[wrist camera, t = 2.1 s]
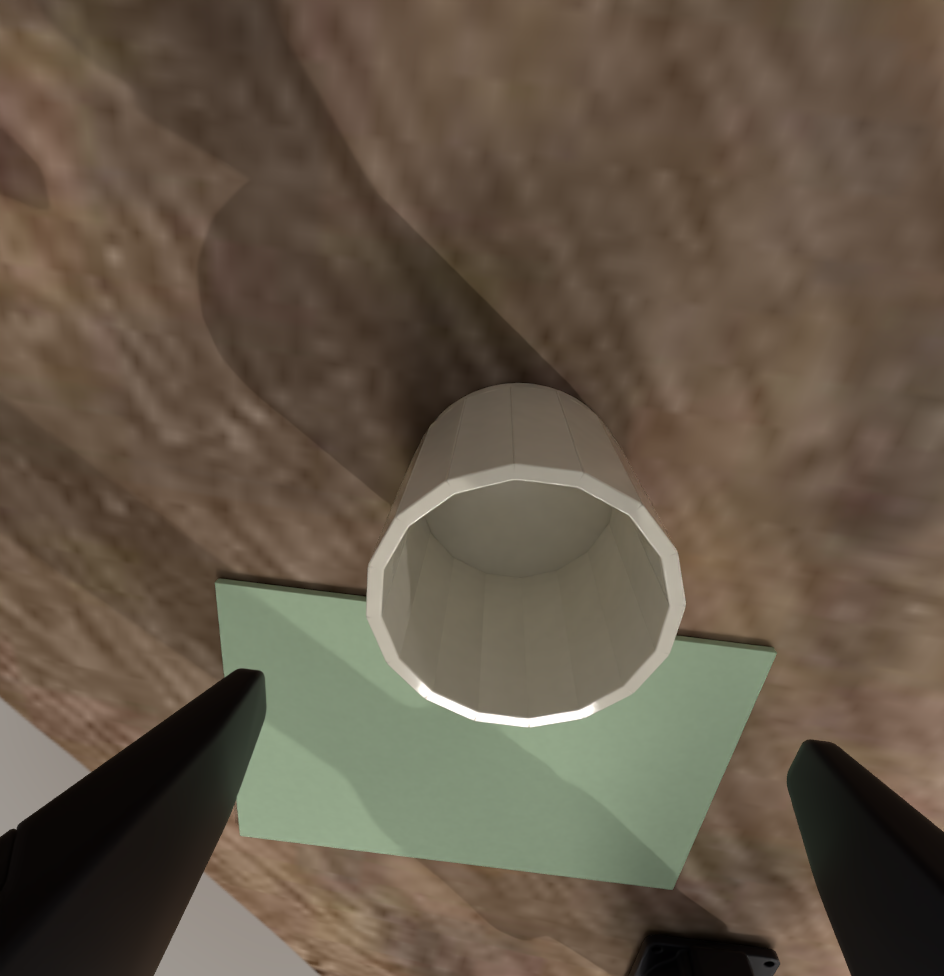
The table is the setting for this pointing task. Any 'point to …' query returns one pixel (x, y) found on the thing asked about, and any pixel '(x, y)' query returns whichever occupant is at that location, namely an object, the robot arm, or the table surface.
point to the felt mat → (475, 752)
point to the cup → (523, 564)
